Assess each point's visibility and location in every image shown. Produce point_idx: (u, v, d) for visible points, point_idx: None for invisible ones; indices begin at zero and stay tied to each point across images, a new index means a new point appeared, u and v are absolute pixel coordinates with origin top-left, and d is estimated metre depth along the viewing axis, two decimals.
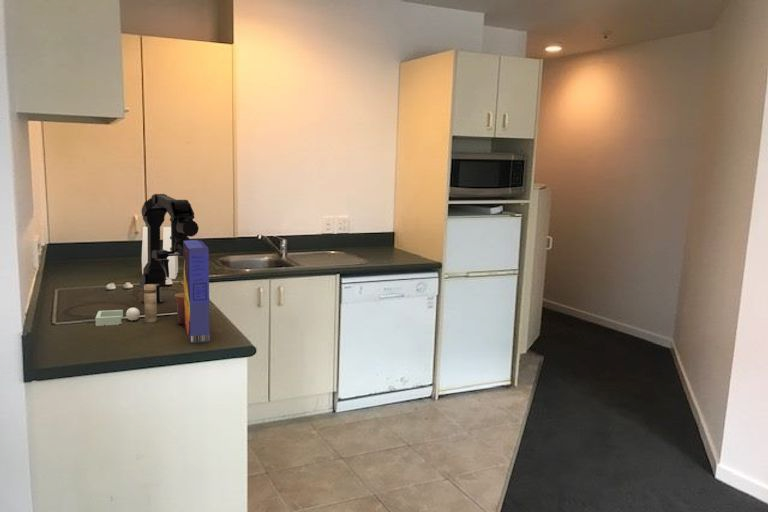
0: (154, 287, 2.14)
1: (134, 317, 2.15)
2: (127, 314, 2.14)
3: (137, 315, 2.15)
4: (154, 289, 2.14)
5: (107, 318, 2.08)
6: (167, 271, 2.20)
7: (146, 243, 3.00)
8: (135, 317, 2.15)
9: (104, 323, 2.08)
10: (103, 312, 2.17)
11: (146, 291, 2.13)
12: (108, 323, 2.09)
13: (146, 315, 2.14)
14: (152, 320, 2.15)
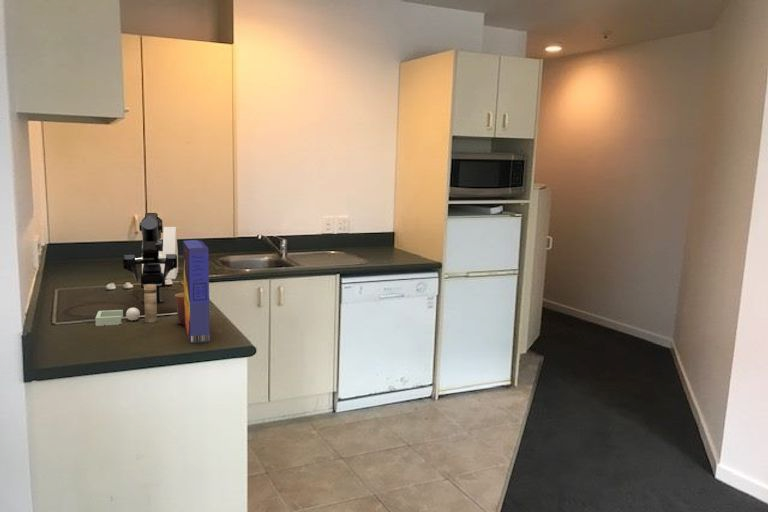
0: (154, 287, 2.14)
1: (134, 317, 2.15)
2: (127, 314, 2.14)
3: (137, 315, 2.15)
4: (154, 289, 2.14)
5: (107, 318, 2.08)
6: (135, 273, 2.21)
7: None
8: (135, 317, 2.15)
9: (104, 323, 2.08)
10: (103, 312, 2.17)
11: (146, 291, 2.13)
12: (108, 323, 2.09)
13: (146, 315, 2.14)
14: (152, 320, 2.15)
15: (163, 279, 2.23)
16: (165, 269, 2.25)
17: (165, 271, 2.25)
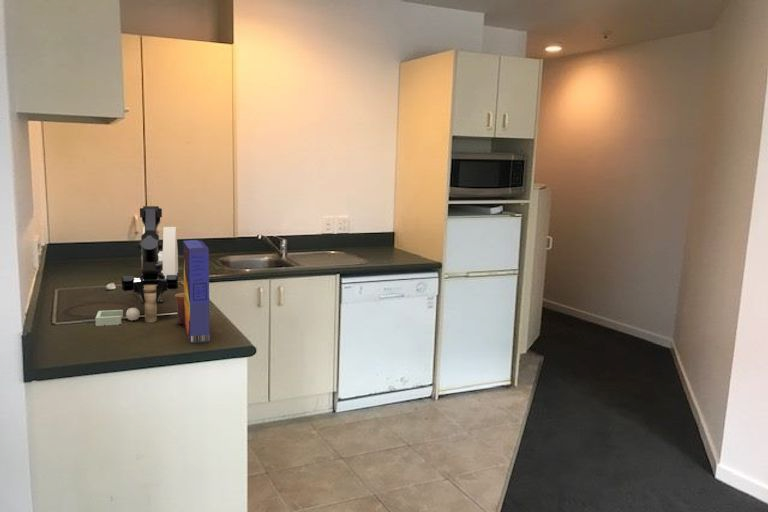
0: (154, 287, 2.14)
1: (134, 317, 2.15)
2: (127, 314, 2.14)
3: (137, 315, 2.15)
4: (154, 289, 2.14)
5: (107, 318, 2.08)
6: (142, 295, 2.14)
7: None
8: (135, 317, 2.15)
9: (104, 323, 2.08)
10: (103, 312, 2.17)
11: (146, 291, 2.13)
12: (108, 323, 2.09)
13: (146, 315, 2.14)
14: (152, 320, 2.15)
15: (156, 301, 2.15)
16: (158, 291, 2.16)
17: (158, 293, 2.16)
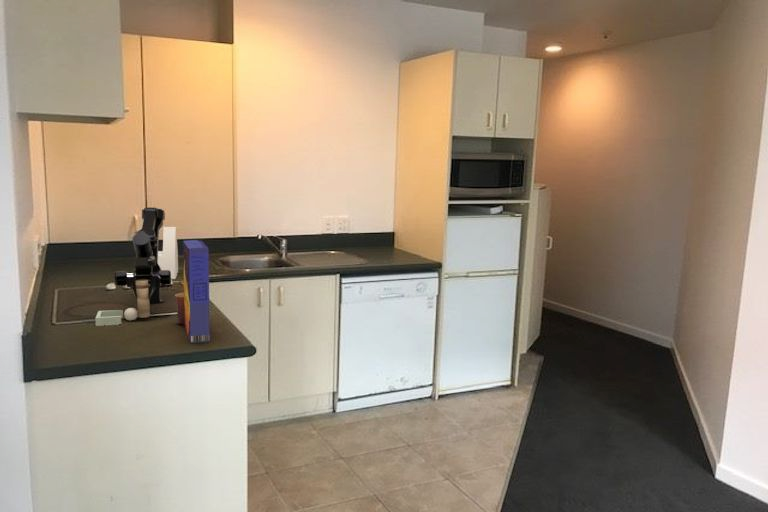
0: (146, 282, 2.15)
1: (133, 317, 2.15)
2: (125, 315, 2.14)
3: (135, 314, 2.15)
4: (146, 284, 2.15)
5: (107, 318, 2.08)
6: (134, 290, 2.15)
7: None
8: (134, 316, 2.15)
9: (104, 323, 2.08)
10: (103, 312, 2.17)
11: (138, 287, 2.14)
12: (108, 323, 2.09)
13: (139, 310, 2.15)
14: (145, 315, 2.16)
15: None
16: (151, 286, 2.17)
17: (150, 288, 2.17)
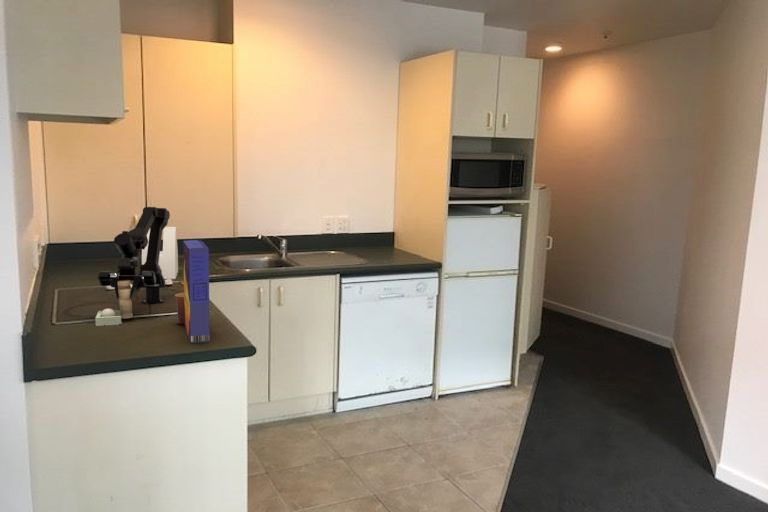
0: (127, 283, 2.13)
1: (104, 314, 2.12)
2: (112, 314, 2.13)
3: None
4: (127, 285, 2.13)
5: (107, 318, 2.08)
6: (116, 291, 2.14)
7: None
8: (103, 314, 2.12)
9: (104, 323, 2.08)
10: None
11: (119, 287, 2.12)
12: (108, 323, 2.09)
13: (120, 311, 2.14)
14: (126, 316, 2.14)
15: (130, 297, 2.14)
16: (133, 287, 2.15)
17: (132, 289, 2.15)
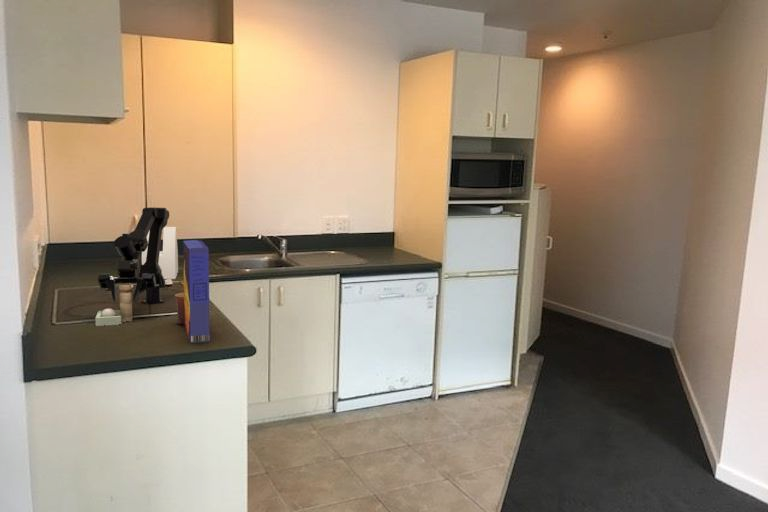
0: (128, 287, 2.13)
1: (104, 314, 2.12)
2: (113, 314, 2.13)
3: (102, 316, 2.12)
4: (128, 289, 2.13)
5: (107, 318, 2.08)
6: (112, 293, 2.13)
7: None
8: (104, 314, 2.12)
9: (104, 323, 2.08)
10: None
11: (121, 291, 2.13)
12: (108, 323, 2.09)
13: (120, 314, 2.14)
14: (126, 320, 2.14)
15: None
16: (136, 289, 2.15)
17: (136, 291, 2.15)
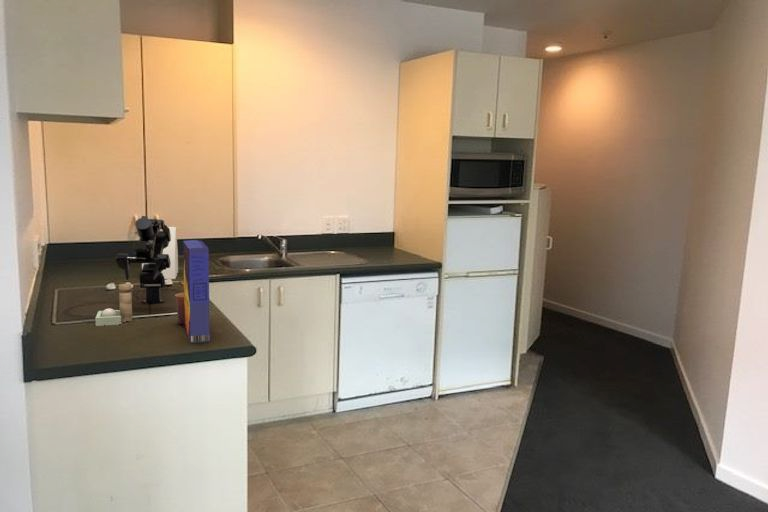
0: (128, 287, 2.13)
1: (105, 314, 2.12)
2: (113, 314, 2.13)
3: (103, 316, 2.12)
4: (128, 289, 2.13)
5: (107, 318, 2.08)
6: (126, 272, 2.25)
7: None
8: (104, 314, 2.12)
9: (104, 323, 2.08)
10: None
11: (120, 291, 2.13)
12: (108, 323, 2.09)
13: (120, 314, 2.14)
14: (126, 320, 2.14)
15: (152, 279, 2.25)
16: (155, 269, 2.27)
17: (155, 271, 2.26)
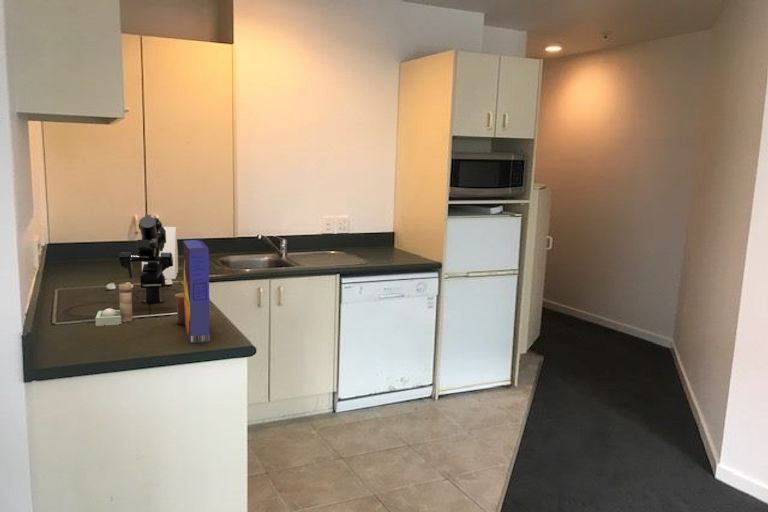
0: (128, 287, 2.13)
1: (106, 313, 2.12)
2: (113, 314, 2.13)
3: (103, 315, 2.12)
4: (128, 289, 2.13)
5: (107, 318, 2.08)
6: (129, 271, 2.25)
7: None
8: (105, 313, 2.12)
9: (104, 323, 2.08)
10: None
11: (120, 291, 2.13)
12: (108, 323, 2.09)
13: (120, 314, 2.14)
14: (126, 320, 2.14)
15: (156, 277, 2.26)
16: (159, 267, 2.28)
17: (158, 269, 2.27)
